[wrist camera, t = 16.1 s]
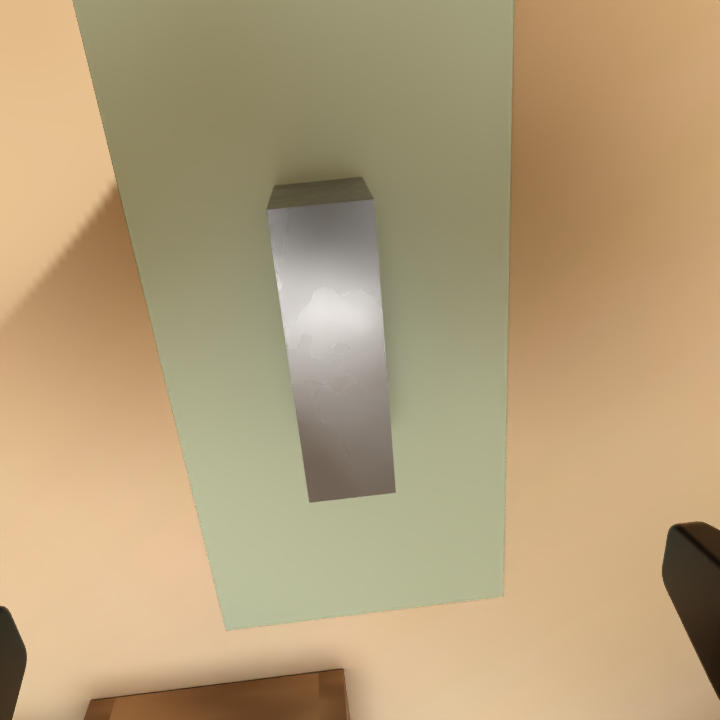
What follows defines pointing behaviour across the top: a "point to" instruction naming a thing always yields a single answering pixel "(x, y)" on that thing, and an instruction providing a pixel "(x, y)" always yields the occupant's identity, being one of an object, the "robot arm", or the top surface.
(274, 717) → the toolbox
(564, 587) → the top surface
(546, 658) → the top surface
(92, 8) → the lid
